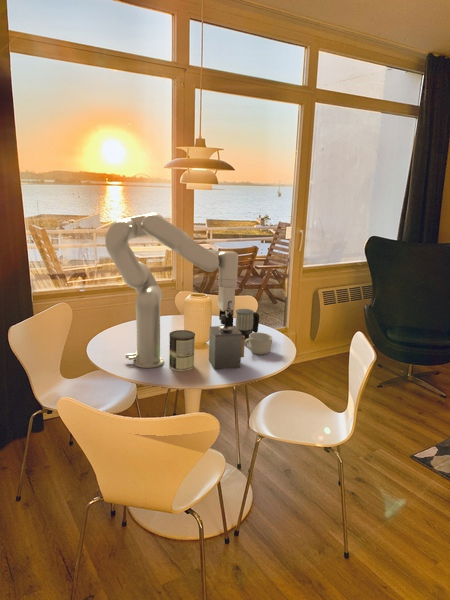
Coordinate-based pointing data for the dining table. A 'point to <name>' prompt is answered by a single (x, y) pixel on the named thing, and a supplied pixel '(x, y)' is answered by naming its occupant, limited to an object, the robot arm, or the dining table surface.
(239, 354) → the gray box
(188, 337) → the coffee can
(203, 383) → the dining table surface
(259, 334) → the teacup
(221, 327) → the plunger
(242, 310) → the milk frother
